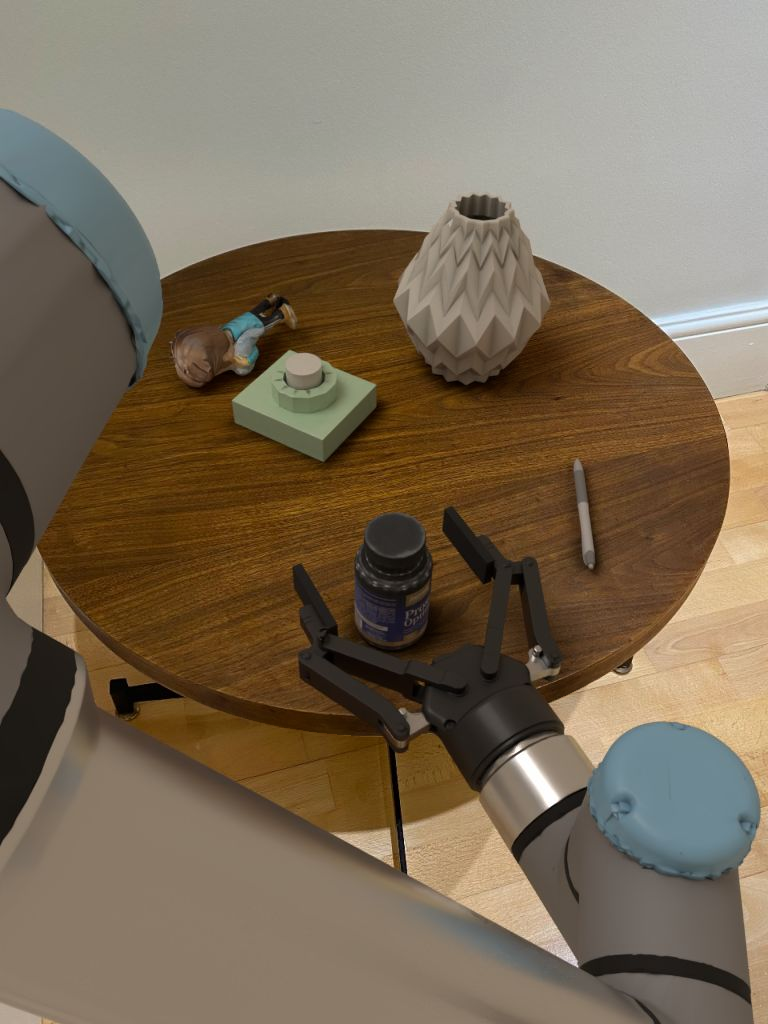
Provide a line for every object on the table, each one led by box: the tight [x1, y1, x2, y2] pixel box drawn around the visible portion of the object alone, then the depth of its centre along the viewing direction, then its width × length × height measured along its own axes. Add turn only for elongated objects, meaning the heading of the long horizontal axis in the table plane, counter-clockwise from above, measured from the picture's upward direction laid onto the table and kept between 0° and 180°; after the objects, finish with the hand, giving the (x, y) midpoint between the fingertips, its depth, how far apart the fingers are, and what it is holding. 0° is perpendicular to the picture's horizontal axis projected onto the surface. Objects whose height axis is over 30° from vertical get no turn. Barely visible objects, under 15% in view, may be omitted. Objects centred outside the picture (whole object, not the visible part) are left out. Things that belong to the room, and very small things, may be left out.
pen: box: [573, 458, 596, 571], centre depth 81 cm, size 1×14×1 cm, turn 176°
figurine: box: [167, 292, 298, 388], centre depth 95 cm, size 8×16×6 cm, turn 134°
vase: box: [393, 191, 551, 386], centre depth 91 cm, size 16×16×18 cm
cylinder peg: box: [285, 352, 322, 390], centre depth 87 cm, size 4×4×2 cm
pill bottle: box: [353, 511, 434, 651], centre depth 69 cm, size 6×6×11 cm
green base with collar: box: [231, 349, 378, 463], centre depth 89 cm, size 11×10×5 cm
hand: (374, 545), depth 70 cm, fingers open, 13 cm apart
